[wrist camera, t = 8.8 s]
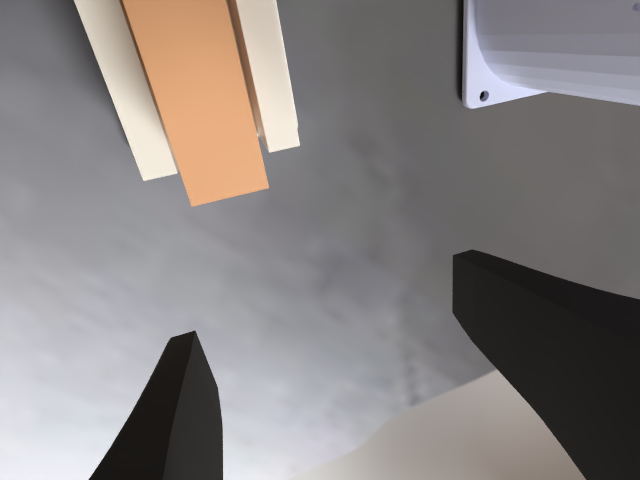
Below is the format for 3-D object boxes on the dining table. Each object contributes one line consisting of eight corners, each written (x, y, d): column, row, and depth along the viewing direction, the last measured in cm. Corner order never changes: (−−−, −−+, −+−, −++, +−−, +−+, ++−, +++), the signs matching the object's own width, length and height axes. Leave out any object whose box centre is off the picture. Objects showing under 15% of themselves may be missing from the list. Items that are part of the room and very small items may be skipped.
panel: (169, -176, 13) (142, -368, 7) (244, 136, 18) (269, 188, 12) (96, -170, 12) (0, -365, 6) (194, 147, 17) (191, 206, 11)
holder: (242, -167, 14) (255, -231, 11) (294, 123, 19) (315, 142, 15) (24, -147, 13) (-36, -211, 10) (139, 157, 18) (126, 184, 14)
